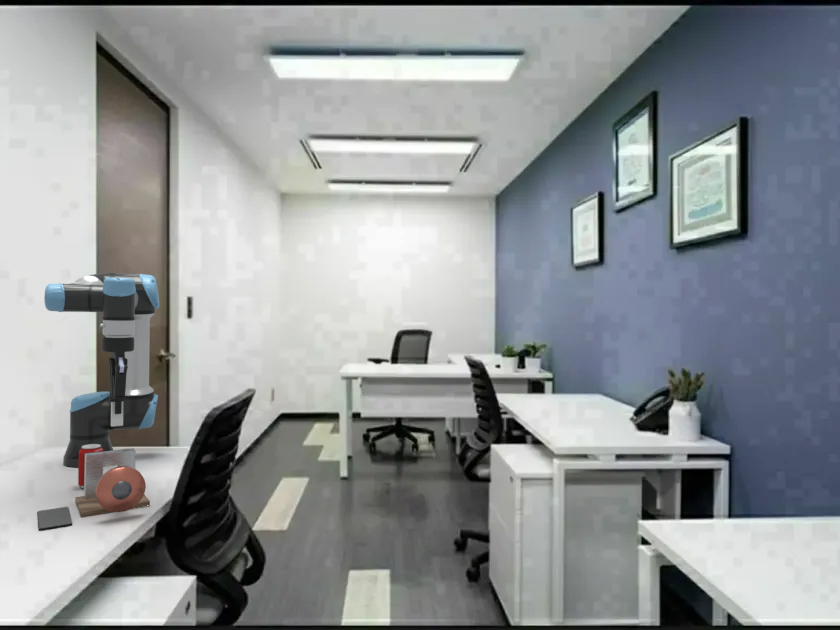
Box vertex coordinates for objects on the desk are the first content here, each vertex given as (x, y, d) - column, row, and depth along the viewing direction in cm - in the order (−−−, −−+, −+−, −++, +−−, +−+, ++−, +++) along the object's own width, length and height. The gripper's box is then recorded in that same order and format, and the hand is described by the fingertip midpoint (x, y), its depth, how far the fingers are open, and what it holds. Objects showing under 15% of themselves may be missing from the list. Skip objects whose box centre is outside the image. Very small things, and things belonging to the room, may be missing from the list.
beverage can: (91, 490, 166) (92, 449, 166) (72, 488, 168) (73, 447, 168) (107, 484, 173) (108, 444, 172) (89, 482, 174) (90, 442, 174)
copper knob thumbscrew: (88, 498, 153) (89, 457, 153) (134, 492, 160) (134, 452, 160) (96, 516, 140) (97, 471, 140) (145, 508, 147) (146, 465, 147)
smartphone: (68, 506, 152) (72, 523, 140) (68, 509, 152) (72, 527, 140) (36, 510, 148) (38, 528, 136) (36, 514, 148) (38, 532, 136)
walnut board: (75, 501, 157) (75, 497, 157) (139, 492, 166) (139, 487, 166) (80, 517, 145) (81, 512, 145) (149, 506, 155) (149, 501, 155)
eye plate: (83, 501, 157) (84, 453, 157) (132, 493, 164) (133, 448, 164) (85, 504, 155) (86, 455, 155) (134, 496, 162) (135, 450, 162)
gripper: (98, 334, 155) (97, 422, 155) (106, 338, 144) (104, 432, 145) (129, 334, 159) (128, 419, 160) (138, 337, 149) (137, 428, 149)
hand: (116, 425), depth 152 cm, fingers closed
